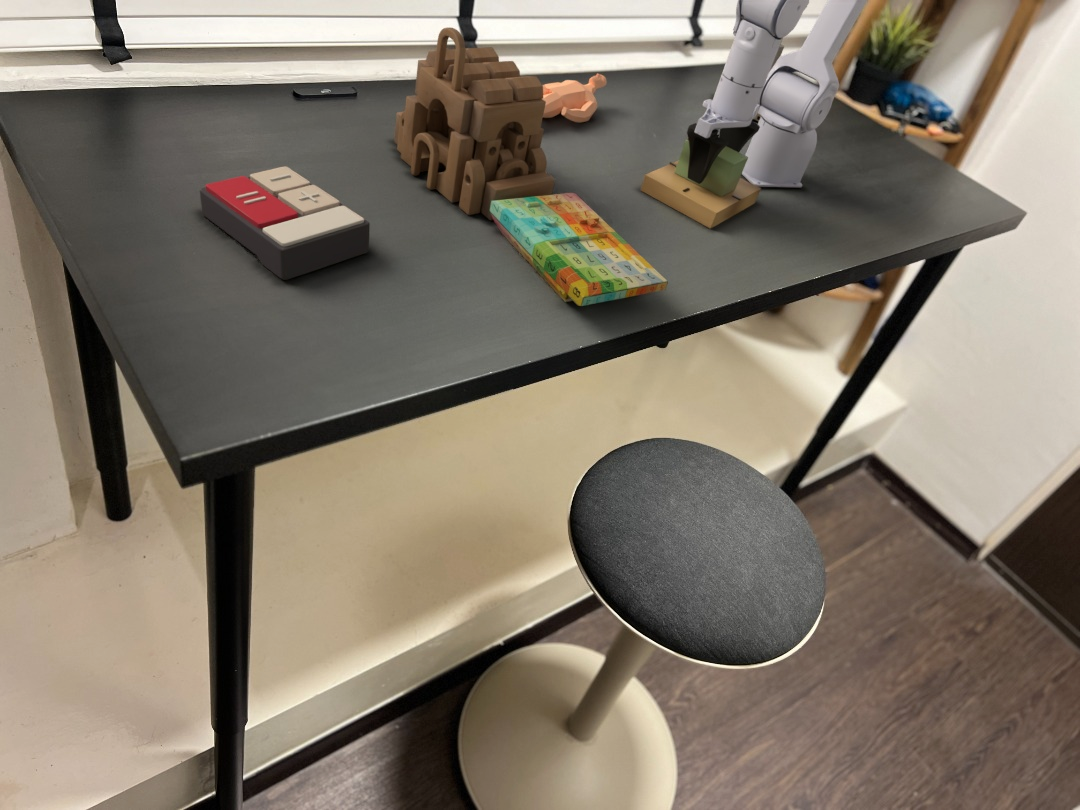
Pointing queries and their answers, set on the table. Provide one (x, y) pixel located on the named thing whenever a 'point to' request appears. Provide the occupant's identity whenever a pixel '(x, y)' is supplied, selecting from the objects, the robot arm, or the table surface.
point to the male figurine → (572, 98)
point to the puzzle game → (574, 249)
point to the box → (716, 170)
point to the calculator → (285, 221)
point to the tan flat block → (698, 196)
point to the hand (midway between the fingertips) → (707, 174)
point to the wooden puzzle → (474, 127)
